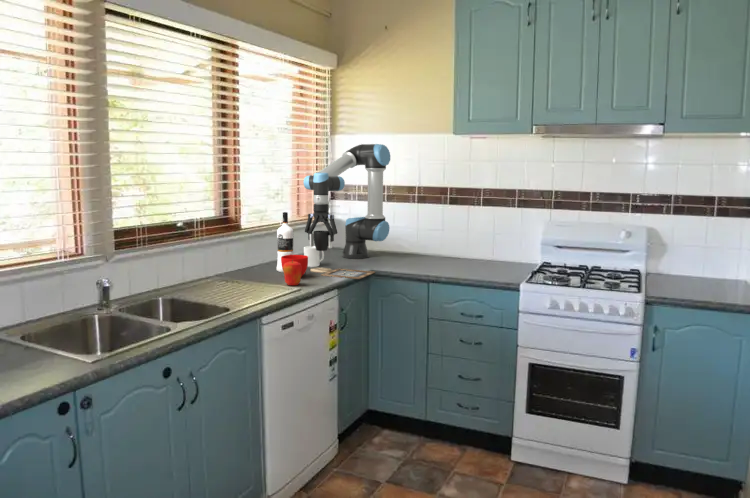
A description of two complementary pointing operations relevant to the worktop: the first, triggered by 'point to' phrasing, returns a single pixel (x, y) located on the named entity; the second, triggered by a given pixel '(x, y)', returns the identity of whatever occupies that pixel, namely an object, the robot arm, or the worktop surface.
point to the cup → (313, 256)
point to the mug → (321, 240)
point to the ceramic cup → (297, 258)
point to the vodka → (284, 241)
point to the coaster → (320, 270)
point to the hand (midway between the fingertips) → (320, 247)
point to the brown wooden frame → (348, 274)
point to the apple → (292, 272)
